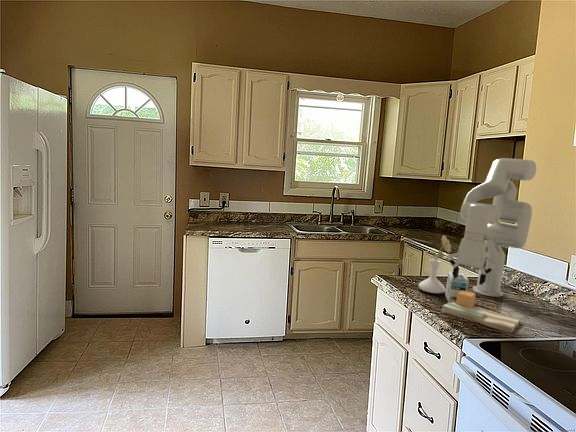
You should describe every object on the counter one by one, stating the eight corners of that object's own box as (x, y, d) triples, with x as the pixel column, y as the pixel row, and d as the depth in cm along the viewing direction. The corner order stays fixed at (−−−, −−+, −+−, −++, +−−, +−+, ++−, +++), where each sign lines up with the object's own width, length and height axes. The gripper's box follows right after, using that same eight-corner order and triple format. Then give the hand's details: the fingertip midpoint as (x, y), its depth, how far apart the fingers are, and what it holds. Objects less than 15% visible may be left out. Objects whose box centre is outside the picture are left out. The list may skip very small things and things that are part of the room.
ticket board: (454, 304, 175) (455, 298, 175) (520, 322, 160) (521, 316, 160) (441, 312, 164) (442, 305, 164) (510, 332, 149) (511, 325, 149)
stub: (461, 302, 173) (462, 290, 172) (474, 306, 170) (475, 293, 169) (455, 305, 168) (457, 293, 168) (469, 309, 165) (470, 296, 164)
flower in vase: (432, 296, 183) (440, 238, 179) (412, 288, 192) (419, 232, 189) (453, 294, 189) (461, 237, 186) (432, 286, 199) (440, 232, 196)
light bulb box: (465, 305, 175) (469, 279, 174) (448, 303, 176) (451, 277, 175) (460, 297, 185) (464, 272, 184) (444, 295, 187) (447, 270, 185)
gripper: (502, 240, 162) (494, 285, 165) (455, 232, 173) (449, 274, 175) (496, 242, 157) (489, 288, 159) (448, 233, 168) (442, 276, 170)
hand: (468, 280), depth 167 cm, fingers open, 9 cm apart
